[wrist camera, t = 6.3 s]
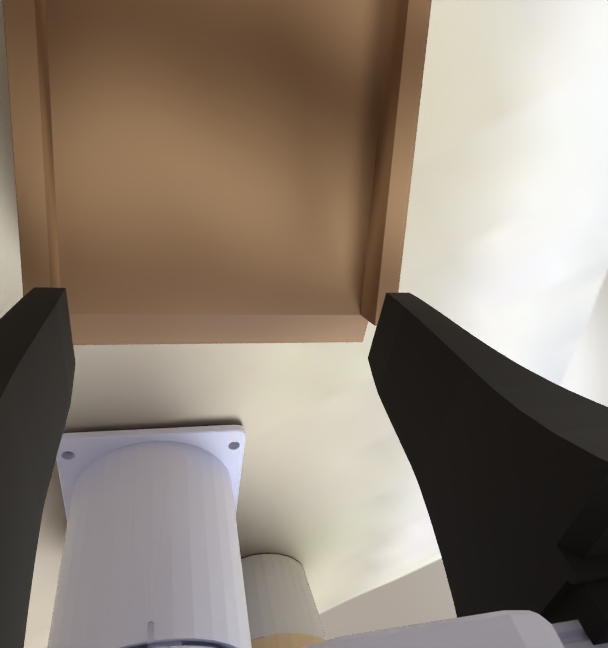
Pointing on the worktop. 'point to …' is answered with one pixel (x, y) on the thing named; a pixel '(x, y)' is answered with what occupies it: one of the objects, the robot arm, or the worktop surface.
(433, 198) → the worktop surface
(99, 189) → the ramp
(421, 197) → the worktop surface
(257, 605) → the coffee cup
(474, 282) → the worktop surface
